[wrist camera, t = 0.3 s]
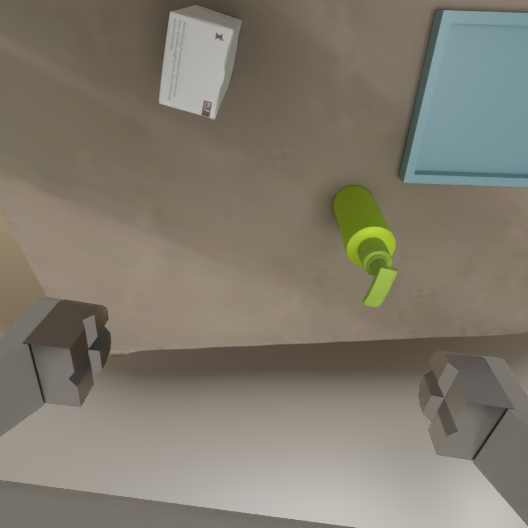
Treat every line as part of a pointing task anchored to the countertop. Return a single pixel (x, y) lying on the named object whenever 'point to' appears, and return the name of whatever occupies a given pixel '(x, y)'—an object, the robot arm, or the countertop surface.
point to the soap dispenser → (366, 239)
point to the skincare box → (198, 59)
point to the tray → (471, 103)
